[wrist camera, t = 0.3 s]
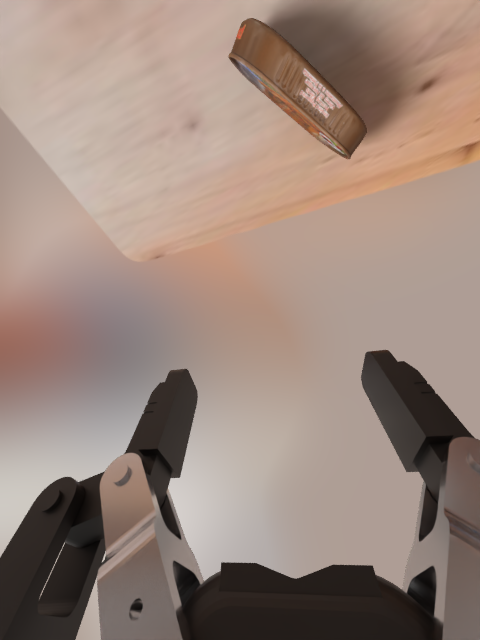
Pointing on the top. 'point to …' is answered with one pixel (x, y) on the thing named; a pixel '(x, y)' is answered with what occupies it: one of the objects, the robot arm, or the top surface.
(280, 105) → the tin
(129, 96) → the top surface
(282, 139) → the top surface
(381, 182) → the top surface
